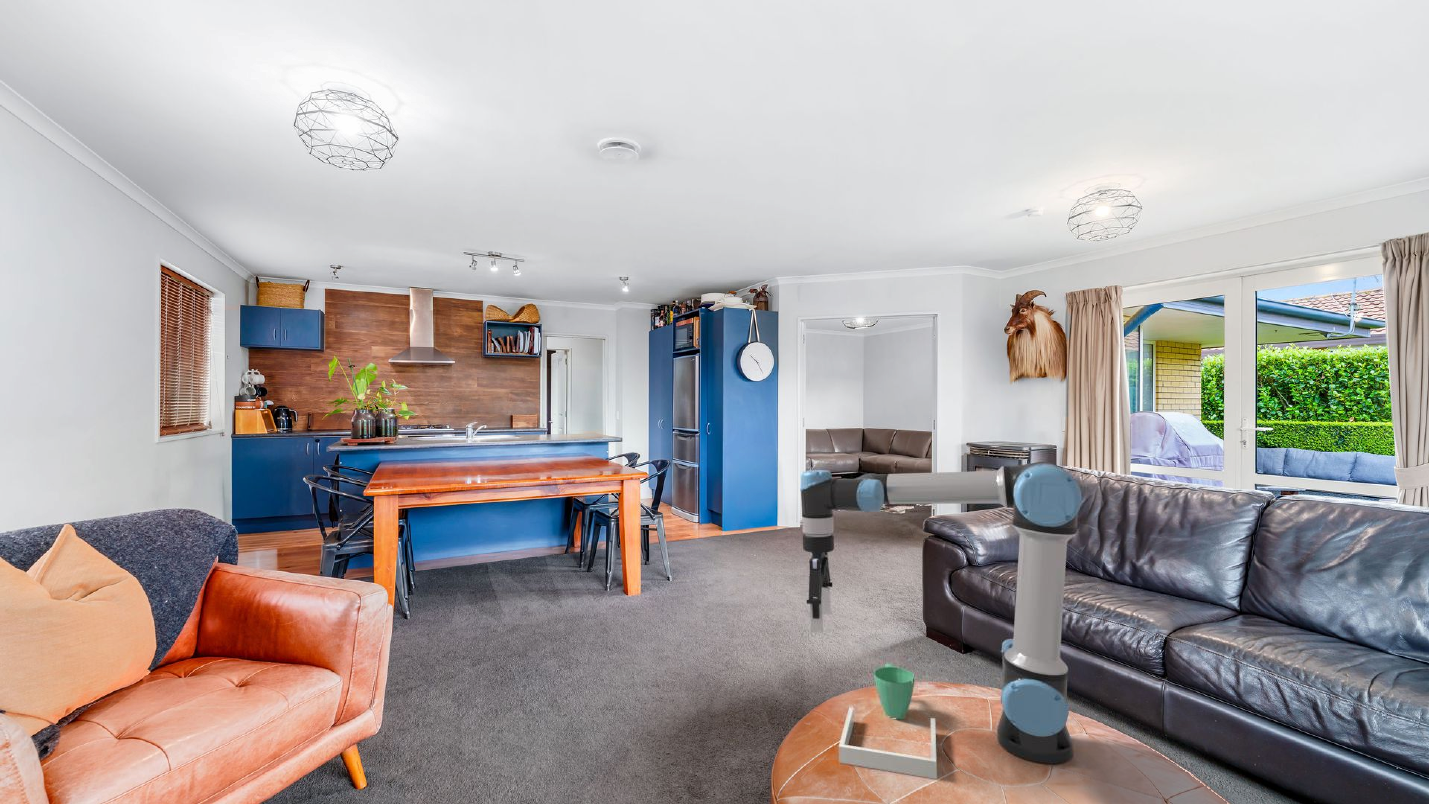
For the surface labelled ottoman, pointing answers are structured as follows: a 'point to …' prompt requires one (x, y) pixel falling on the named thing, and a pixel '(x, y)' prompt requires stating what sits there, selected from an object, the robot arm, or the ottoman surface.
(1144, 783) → the ottoman surface
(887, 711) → the mug
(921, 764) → the corral
